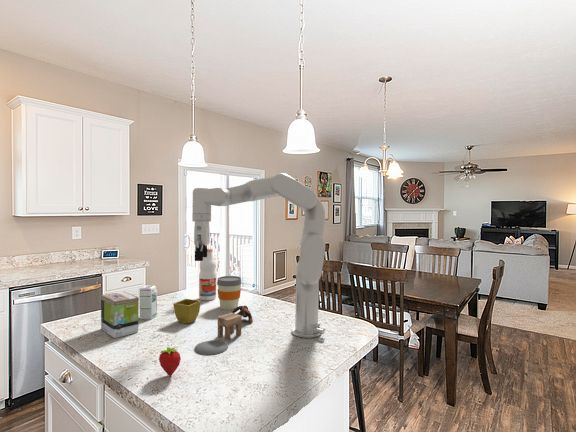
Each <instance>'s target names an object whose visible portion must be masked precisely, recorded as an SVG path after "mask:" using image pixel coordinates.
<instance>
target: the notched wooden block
mask: <svg viewBox="0 0 576 432" xmlns="http://www.w3.org/2000/svg"><path fill="white" fill-rule="evenodd" d="M242 319H243V316H241V315H238V314H237V313H236V312H235V313H231V312H229V313H226V314H222V315H218V316H217V337H218V338H222V337H224V340H226V341H229V340H231V334H233V333H235V335H236V336H237V337H240V336H242V321H243V320H242Z"/></svg>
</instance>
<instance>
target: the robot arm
mask: <svg viewBox="0 0 576 432" xmlns="http://www.w3.org/2000/svg"><path fill="white" fill-rule="evenodd" d="M275 197H282V198H283V199H285V200H287V201H288V202H290V203H292V204H294V205H295V206H297V207H298V208H299V209H300V210H302V211H303V213H304V214H303V215H304V221H303V230H302V234H301V239H300V252H299V258H298V259H299V260H298V262H297V263H296V266H295V315H294V316H295V323H294V324H295V325H294V326H292V327H291V333H292V334H293V336H296V337H299V338H304V339H305V338H306V339H309V338H310V339H311V338H316V337H319V336H320V335H325V331H326V327H321V322H319V294H320V293H319V291H320V289H319V288H320V287H319V286H320V284H319V283H320V282H319V281H320V279H321V276H322V274H323V273H322V272H323V266H324V261H325V253H326V242H325V239H324V232H325V231H324V230H325V221H326V211H325V208H324V205H323V203H322V201H321V199H320V198H318V196H317V194H316V193H315V191H314V190H313V189H311V188H310V187H308V186H306V185H304V184H303V183H301V182H300V181H298V180H296V179H295V178H293V177H292V176H290V175H288V173H283V172H279V173H277V174H275V175H273V176H269V177H262V178H257V179H252V180H249V181H248V182H246V183H243V184H240V185H237V186H231V187H227V188H224V187H212V188H205V187H196V188H194V189H193V190H192V216H191V217H192V218H191V219H192V222H194V229H193V230H194V233H193V243H194V262H201V261H203V257H207V249H208V245H209V244H210V243H211V240H210V239H211V237H210V236H211V235H210V234H211V233H210V230H211V229H210V222H212V206H213V207H214V206H215V207H228V206H232V205H237V204H242V203H243V204H244V203H247V202H255V201H260V200H265V199H270V198H275Z"/></svg>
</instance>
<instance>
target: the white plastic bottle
mask: <svg viewBox="0 0 576 432" xmlns="http://www.w3.org/2000/svg"><path fill="white" fill-rule="evenodd" d="M213 252H214V251H213V248H207V257H203V261H199V268H200V269H199V270H200V271H199V275H198V282H199V283H198V300H199V301H204V302H205V301H213V300H215V299H216V298H217V271H216V268H217V262H216V261H215V258H214V256H213Z"/></svg>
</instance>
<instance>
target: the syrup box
mask: <svg viewBox="0 0 576 432" xmlns="http://www.w3.org/2000/svg"><path fill="white" fill-rule="evenodd" d="M138 291H139V292H138V293H139V294H138V295H139V296H138V297H139V319H140V320H153V319H154V318H156V317H157V315H158V313H157V312H158V307H157V305H158V304H157V302H158V300H157V299H158V298H157V297H158V294H157V285H154V284H153V285H151V284H149V285H144V286H141V287H139V289H138Z"/></svg>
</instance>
